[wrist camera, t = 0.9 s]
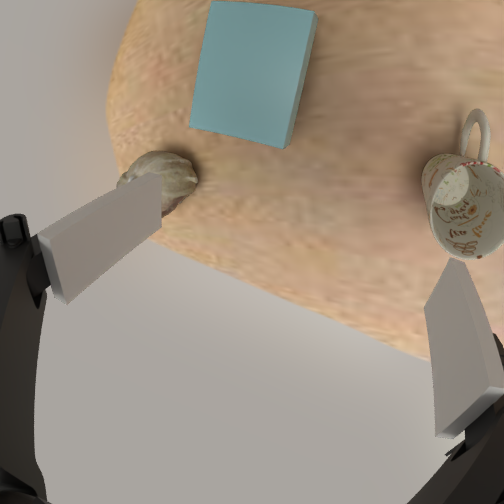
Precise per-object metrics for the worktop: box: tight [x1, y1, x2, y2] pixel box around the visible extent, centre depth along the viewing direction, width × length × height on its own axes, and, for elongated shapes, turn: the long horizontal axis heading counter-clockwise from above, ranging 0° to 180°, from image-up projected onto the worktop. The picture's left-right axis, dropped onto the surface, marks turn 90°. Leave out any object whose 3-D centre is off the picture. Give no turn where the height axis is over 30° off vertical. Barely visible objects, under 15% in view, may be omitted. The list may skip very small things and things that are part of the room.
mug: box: [421, 109, 504, 260], centre depth 22 cm, size 8×13×10 cm, turn 178°
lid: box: [189, 1, 318, 149], centre depth 24 cm, size 13×9×3 cm
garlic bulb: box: [117, 151, 198, 218], centre depth 34 cm, size 9×8×10 cm
